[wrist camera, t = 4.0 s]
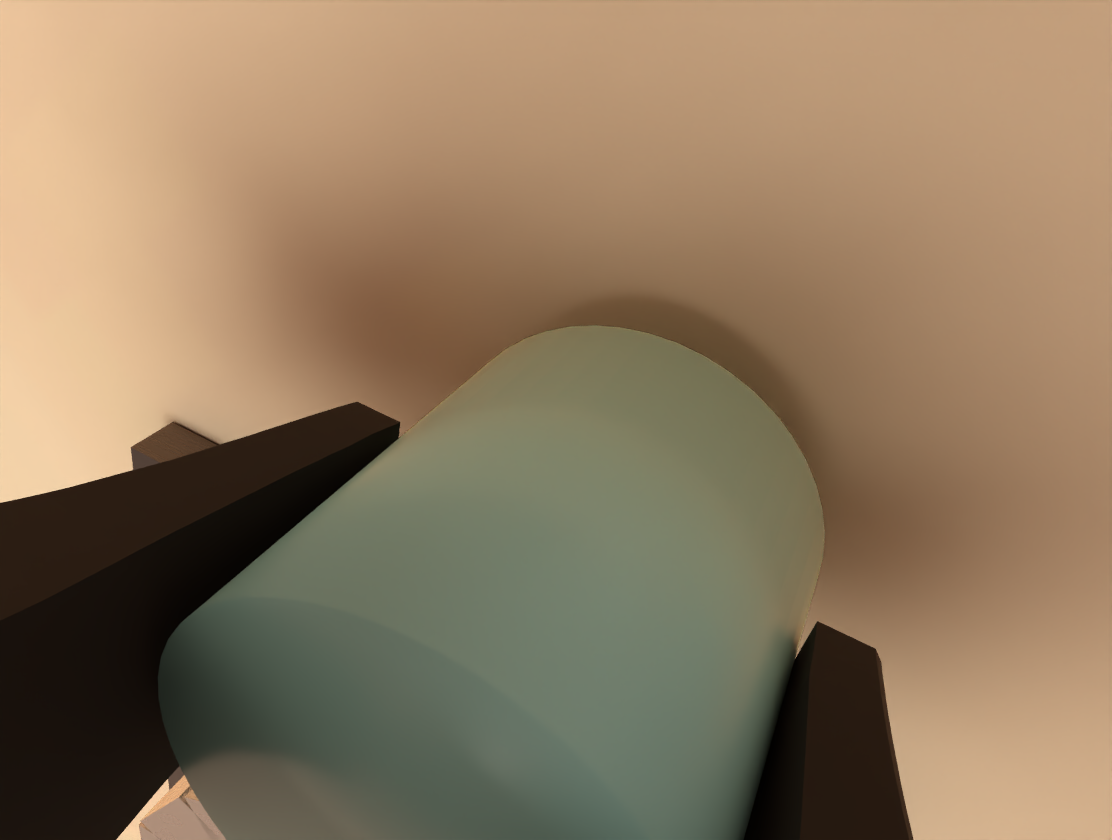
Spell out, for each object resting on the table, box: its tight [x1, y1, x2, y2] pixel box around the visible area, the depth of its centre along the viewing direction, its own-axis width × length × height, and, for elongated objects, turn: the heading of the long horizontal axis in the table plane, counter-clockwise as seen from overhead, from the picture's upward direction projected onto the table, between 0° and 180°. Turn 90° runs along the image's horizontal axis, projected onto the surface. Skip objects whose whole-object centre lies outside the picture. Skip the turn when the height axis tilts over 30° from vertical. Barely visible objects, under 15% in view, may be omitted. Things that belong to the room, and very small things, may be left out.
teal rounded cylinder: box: [158, 325, 825, 840], centre depth 9 cm, size 5×5×5 cm
